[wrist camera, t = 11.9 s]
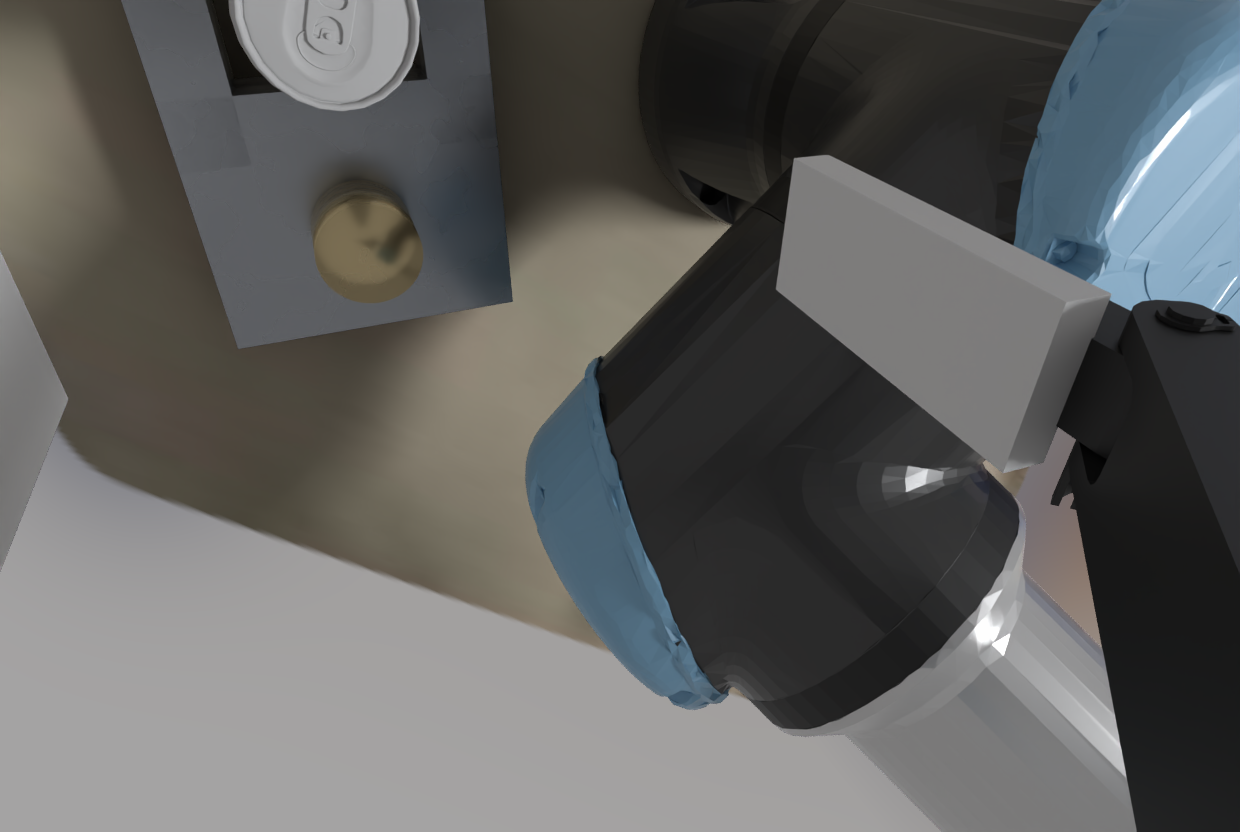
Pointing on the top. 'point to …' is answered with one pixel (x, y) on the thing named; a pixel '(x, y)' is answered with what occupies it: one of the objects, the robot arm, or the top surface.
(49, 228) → the top surface
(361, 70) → the beverage can
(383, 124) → the marble inkwell stand
